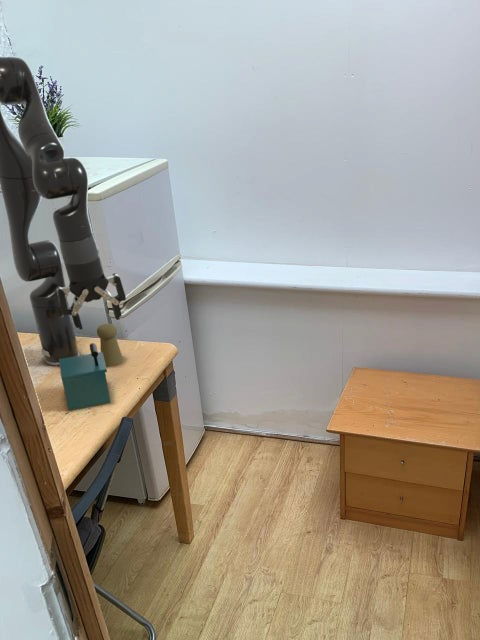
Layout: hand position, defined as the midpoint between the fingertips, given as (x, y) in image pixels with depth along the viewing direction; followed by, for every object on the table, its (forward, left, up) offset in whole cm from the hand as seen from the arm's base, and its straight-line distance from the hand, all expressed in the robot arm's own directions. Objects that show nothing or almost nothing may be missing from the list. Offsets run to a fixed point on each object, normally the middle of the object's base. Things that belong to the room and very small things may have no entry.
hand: (99, 323), depth 141 cm
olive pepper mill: (-23, +2, -22) cm, 32 cm away
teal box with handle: (-5, -5, -13) cm, 15 cm away
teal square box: (-5, -6, -22) cm, 23 cm away
